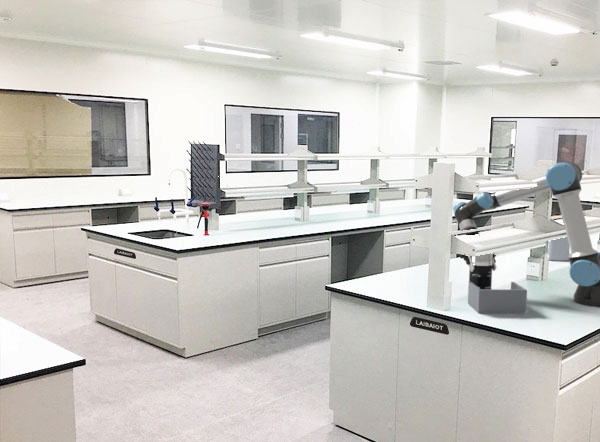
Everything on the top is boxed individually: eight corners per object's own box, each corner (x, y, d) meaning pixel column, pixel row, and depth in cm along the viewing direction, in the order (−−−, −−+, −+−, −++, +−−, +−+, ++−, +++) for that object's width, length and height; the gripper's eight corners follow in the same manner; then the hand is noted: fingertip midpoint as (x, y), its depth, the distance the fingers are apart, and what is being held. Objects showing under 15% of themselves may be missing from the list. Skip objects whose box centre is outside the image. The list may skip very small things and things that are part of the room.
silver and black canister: (495, 295, 261) (497, 242, 258) (485, 300, 253) (487, 245, 250) (474, 292, 267) (475, 240, 265) (464, 296, 260) (466, 242, 257)
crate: (512, 303, 252) (513, 281, 251) (525, 313, 237) (527, 290, 236) (467, 303, 253) (468, 281, 251) (478, 313, 237) (479, 289, 236)
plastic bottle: (571, 261, 351) (573, 217, 348) (545, 260, 354) (547, 216, 351) (564, 257, 366) (566, 214, 363) (539, 256, 369) (541, 214, 365)
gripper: (488, 235, 274) (503, 273, 261) (444, 236, 270) (457, 275, 257) (494, 225, 268) (510, 264, 255) (449, 226, 265) (463, 265, 251)
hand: (483, 269), depth 256 cm, fingers closed on silver and black canister, 10 cm apart
